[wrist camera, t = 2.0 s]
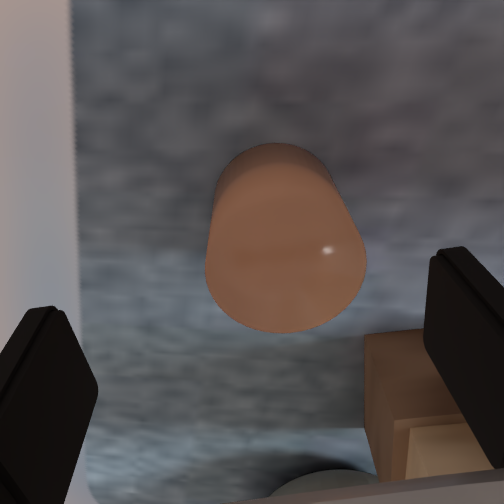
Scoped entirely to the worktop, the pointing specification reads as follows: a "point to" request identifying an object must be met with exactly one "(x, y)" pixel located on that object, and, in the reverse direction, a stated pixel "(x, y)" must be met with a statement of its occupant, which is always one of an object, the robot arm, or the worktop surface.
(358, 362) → the worktop surface
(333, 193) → the brown rounded cylinder
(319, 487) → the air freshener
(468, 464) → the top block
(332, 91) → the worktop surface
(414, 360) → the base block
